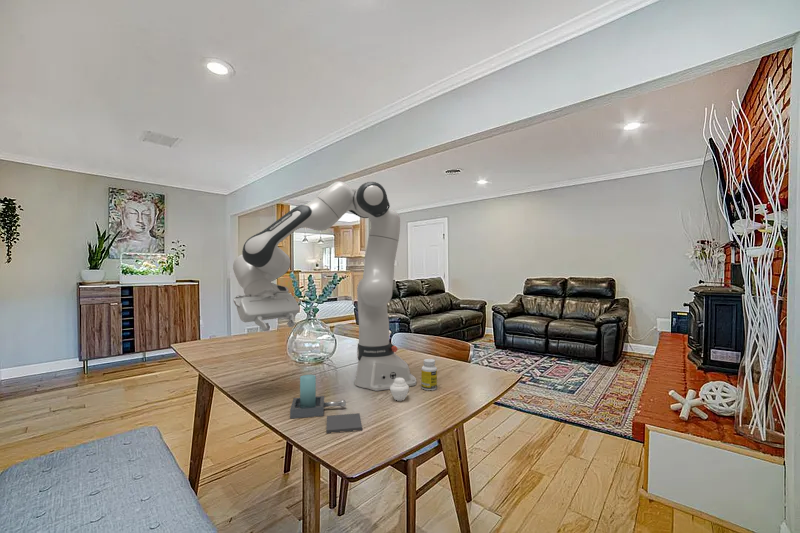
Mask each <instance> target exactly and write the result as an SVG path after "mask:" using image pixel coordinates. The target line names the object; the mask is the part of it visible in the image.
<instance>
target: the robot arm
mask: <svg viewBox="0 0 800 533" xmlns="http://www.w3.org/2000/svg"><path fill="white" fill-rule="evenodd" d="M390 207H391V204H390V202H389V198H388V196H387V192H386V189H385V188H384V187H383V185H382V184H380V183H379V182H376V181H367V182H364V183H363V184H361V185H360V186H359V187H358V188H357V189H354V188H351V186H350V185H348V184H347V183H346V182H343V181H341V180H340V181H335V182H333V183H332V184H330V185H329V186H327V187H326V188H325V189H323V190H322V191H321V192H320V193H318V194H317V195H316V196H315V197H314V198H313V199H312V200H310V201H309V202H307V203H306V204H301V205H298V206H296V207H294V208H292V209H291V210H289V211H288V212H286V213H285V214H284V215H283V216H281V217H279V218H278V219H277V220H275V221H274V222H272V223H271V224H270V225H269V226H268V227H266V228H265V229H263V230H262V231H260V232H257V233H256V234H254V235H252V236H250V237H248V239H247V240H246V241H245V243H244V244H243V247H242V251H241V254H240V255H238V256H236V258H235V259H234V261H233V264H232V269H233V273H234V276H235V278H236V280H237V282H238V284H239V285H240V288H241V287H242V289H243V292H244V294H243V295H236V297H234V298H233V303H234V305H235V307H236V311H237V314H238V316H239V319H240V321H242V322H244V323H251V322H252V323H253V322H254V323H255V325H257V326H259V328H261V330H262V331H263V332H266V331H267V332H268V331H269V330H270V329H271V326H270V325H269V322H265V321H267V320H275V319H276V320H278V319H285V318H286V320H288V322H287V323H286V324H287V326H288V327H289V328H292V327H293V328H294V326H296V322H295V320H294V317H296V316H297V315H298V313H299V311H300V308H301V307H300V306H299V303H298V301H297V300H296V299H295V297H294V296H293V295H292V294H291V293H289V292H290V290H289V288H288V287H287V286H285V285H279V284H276V283H273V282H274V281H276V280H277V279H279V278H281V277H282V276H284V275H285V274H286V273H287V272H288V271H289V270H290V268H291V258H290V256H289V255H288V254H287V253H286V252H285V251H284V250H283V249H281V247H279V244H280V243H281V242H283V241H284V240H285V239H286V238H287V237H289V236H290V235H292V234H293V233H294V232H295V231H297V230H299V229H302V228H305V229H311V230H314V231H320V232H323V231H326V230H329V229H330V228H331V227H333V226H334V225H335V224H336V223H338V221H339V220H340V219H341V218H342V217H343V216H344V215H345V214H346V213H348V212H350V213H352V214H353V215H355V216H357V217H359V218H361V219H369V222H370V230H369V234H368V240H367V245H366V249H365V255H364V266H363V274H362V278H361V279H360V280H359V282H358V284H357V287H356V294H357V296H356V297H357V298H356V299H357V312H358V314H357V316H358V343H357V349H356V351H357V352H356V354H357V355H356V356H357V370H356V375H355V379H354V385H355V386H357V387H358V388H364V389H368V390H369V389H370V390H372V391H376V392H378V391H384V390H390V386H391V385H392V384H393V383H394V380H395V379H396V378H399V377H400V378H403V379H404V380H405V382H406V384H407V385H408V386H409V387H414V386H416V385H417V378H416V377H415V376H414V375H413V374H412V373H411V370H410V366H409V364H408V363H407V362H406V361H405V360H404V359H402V357H400V356H399V355H398V354H396V353H397V352H398V347H397V346H396V345H394V344H393V343H392V342H390V319H389V314H388V305H387V304H388V303H389V302H390V301H391V299H392V297H393V289H394V288H393V287H394V278H395V262H396V257H397V251H398V247H399V246H398V245H399V241H400V234H401V216H400V215H399V214H398V212H397V211H395V210H393V209H392V208H390Z"/></svg>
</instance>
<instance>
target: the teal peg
mask: <svg viewBox="0 0 800 533" xmlns="http://www.w3.org/2000/svg"><path fill="white" fill-rule="evenodd" d="M299 381H300V382H299V398H300V407H314V406H316V396H317V395H316V394H317V393H316V392H317V390H316V388H317V387H316V385H317V382H316V381H317V377H316V375H315V374H304V375H301V376H299ZM300 407H299V408H300Z"/></svg>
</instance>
